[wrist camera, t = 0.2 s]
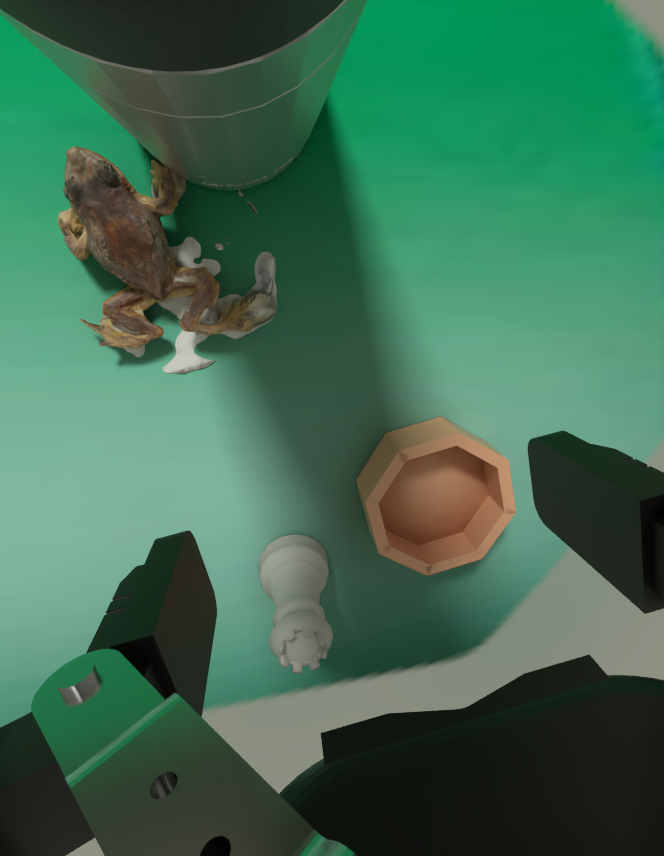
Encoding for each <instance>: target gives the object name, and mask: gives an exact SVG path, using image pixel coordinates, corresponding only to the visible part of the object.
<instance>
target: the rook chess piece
mask: <svg viewBox="0 0 664 856" xmlns="http://www.w3.org/2000/svg"><path fill="white" fill-rule="evenodd" d="M258 570H259V578H260V582H261V586H262V588H263V590H264V591H265V592H266V594H267V595H268V596H269V597H270V598H271V599H272V600H273V601H274V603H275V606H276V611H275V614H274V618H273V624H274V628H273V630H272V631H271V635H270V639H269V643H270V647H271V651H272V652H273V653H274V655H275V656H276V657H277V658H278V659H279V663H280V664H281V666H282V667H283V668H284V669H285V668H286V667H287V666H288V665H289V664H290V665H292V671H293V673H302V666H306V665H310V669H311V671H313V670H315V669H317V668H318V667H320V662H319V659H320V658H322V659H326V657H327V654H328V649H329V648H330V646H331V643H332V639H333V634H332V629H331V626H330V625H329V624H328V623H327V621H326V620H325V614H324V609H323V608H322V607H321V606H320V604H319V602H320V594H321V593H322V590H323V589H324V587H325V585H326V582H327V578H328V574H329V569H328V559H327V554H326V551H325V550H324V549H323V547H322V546H321V545H320V543H319V542H317V541H315V540H314V539H312V538H310V537H308V536H303V535H296V534H293V535H288V536H283V537H279V538H278V539H276V540H275V541H273V542H271V543H270V544H268V545H267V547H266V548H265V549H264V551H263V552H262V553H261V555H260V559H259V563H258Z"/></svg>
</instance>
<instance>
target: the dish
mask: <svg viewBox="0 0 664 856" xmlns="http://www.w3.org/2000/svg"><path fill="white" fill-rule="evenodd" d="M356 483H357V487H358V490H359V494H360V498H361V502H362V505H363V509H364V513H365V517H366V520H367V524H368V528H369V530H370V533H371V535H372V538H373V540H374V543H375V545H376V548H377V550H378V553H379V554H380V555H382V556H384V557H387V558H389V559H391V560H393V561H395V562H398V563H400V564H402V565H404V566H407V567H409V568H411V569H413V570H415V571H418V572H420V573H422V574H424V575H427V576H428V575H431V574H435V573H438V572H441V571H445V570H448V569H451V568H454V567H458V566H461V565H464V564H467V563H471V562H474V561H477V560H480V559H483V557H484V556H485V555H486V553H487V552H488V551H489V549H490V548H491V546H492V545H493V544H494V542H495V541H496V539H497V538H498V537H499V535H500V534H501V533H502V531H503V530H504V528H505V527H506V526H507V524H508V523H509V522H510V520H511V519H512V517H513V516H514V515H515V513H516V508H515V501H514V494H513V487H512V480H511V473H510V467H509V460H508V459H507V458H506V457H504V456H503V455H502V454H501V453H500V452H498V451H497V450H496V449H495V448H493V447H492V446H491V445H490V444H489V443H487V442H486V441H484V440H483V439H481V438H479V437H477V436H476V435H474V434H472V433H470V432H468V431H467V430H465V429H463V428H461V427H460V426H458V425H456V424H454V423H452V422H451V421H449V420H447V419H445V418H444V417H442V416H441V417H437V418H434V419H430V420H427V421H424V422H420V423H417V424H413V425H410V426H407V427H403V428H400V429H396V430H393V431H390V432H386V433H385V435H384V436H383V438H382V439H381V441H380V443H379V444H378V446H377V447H376V449H375V451H374V452H373V454H372V455H371V457H370V458H369V460H368V462H367V463H366V465H365V466H364V468H363V470H362V471H361V473H360V474H359V476H358V478H357V479H356Z"/></svg>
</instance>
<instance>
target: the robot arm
mask: <svg viewBox="0 0 664 856" xmlns="http://www.w3.org/2000/svg"><path fill="white" fill-rule="evenodd" d="M366 2H367V0H0V14H1V15H2V16H3V17H4V18H5V19H6V20H7V21H8V22H9V23H10V24H11V25H12V26H14V27H15V28H16V29H17V30H18V31H19V32H20V33H21V34H22V35H23V36H24V37H25V38H26V39H28V40H29V41H30V42H31V43H32V44H33V45H34V46H35V47H36V48H37V49H38V50H39V51H41V52H42V53H43V54H44V55H45V56H46V57H47V58H49V59H50V60H51V61H52V62H53V63H54V64H55V65H57V66H58V67H59V68H60V69H61V70H62V71H63V72H64V73H65V74H66V75H67V76H68V77H69V78H71V79H72V80H73V81H74V82H75V83H76V84H77V85H78V86H79V87H80V88H81V89H82V90H83V91H85V92H86V93H87V94H88V95H89V96H90V97H91V98H92V99H93V100H94V101H95V102H96V103H97V104H98V105H100V106H101V107H102V108H103V109H104V110H105V111H106V112H107V113H108V114H109V115H110V116H111V117H112V118H114V119H115V120H116V121H117V122H118V123H119V124H120V125H121V126H122V127H123V128H124V129H125V130H126V131H128V132H129V133H130V134H131V135H132V136H133V137H134V138H135V139H136V140H137V141H138V142H139V143H140V144H141V145H142V146H143V147H144V148H145V149H147V150H148V151H149V152H150V153H151V154H152V155H153V156H154V157H155V158H156V159H158V160H159V161H160V162H161V163H162V164H164V165H165V166H166V167H167V168H168V169H170V170H171V171H172V172H173V173H175V174H177V175H179V176H180V177H182V178H184V179H186V180H188V181H189V182H191V183H194V184H197V185H200V186H204V187H207V188H210V189H217V190H229V191H233V190H240V189H247V188H252V187H255V186H257V185H260V184H262V183H265V182H267V181H270V180H271V179H273V178H274V177H275V176H277V175H278V174H280V173H281V172H283V171H284V170H285V169H286V168H287V167H288V166H289V165H290V164H291V163H292V162H293V161H294V160H295V158H296V157H297V156H298V155H299V154H300V152H301V150H302V149H303V147H304V145H305V143H306V142H307V140H308V138H309V136H310V134H311V132H312V130H313V127H314V125H315V123H316V120H317V118H318V116H319V114H320V112H321V109H322V107H323V105H324V102H325V100H326V97H327V95H328V93H329V90H330V88H331V85H332V83H333V81H334V78H335V76H336V74H337V71H338V69H339V66H340V64H341V62H342V59H343V57H344V54H345V52H346V50H347V47H348V45H349V42H350V40H351V38H352V35H353V33H354V31H355V28H356V26H357V23H358V21H359V19H360V16H361V14H362V11H363V9H364V7H365V4H366ZM528 456H529V465H530V473H531V481H532V490H533V498H534V504H535V507H536V510H537V513H538V515H539V517H540V519H541V520H542V522H543V523H544V524H545V525H546V526H547V527H548V528H549V529H550V530H551V531H552V532H553V533H554V534H556V535H557V536H558V537H559V538H560V539H561V540H562V541H563V542H565V543H566V544H567V545H568V546H569V547H570V548H571V549H573V550H574V551H575V552H576V553H577V554H578V555H579V556H580V557H582V558H583V559H584V560H585V561H586V562H587V563H588V564H589V565H591V566H592V567H593V568H594V569H595V570H596V571H597V572H598V573H600V574H601V575H602V576H603V577H604V578H605V579H606V580H608V581H609V582H610V583H611V584H612V585H613V586H615V588H617V589H618V590H619V591H620V592H621V593H622V594H623V595H625V596H626V597H627V598H628V599H629V600H630V601H631V602H632V603H634V604H635V605H636V606H637V607H638V608H639V609H640V610H641V611H642V612H644V613H645V614H646V613H649V612H653V611H656V610H660V609H663V608H664V473H663V472H661V471H659V470H657V469H655V468H653V467H651V466H650V467H647V464H645V463H643V462H641V461H639V460H637V459H635V460H633V458H632V457H630V456H628V455H626V454H624V453H622V452H620V451H618V450H616V449H613V448H608V447H603V446H599V445H594V444H589V443H587V442H585V441H583V440H581V439H579V438H577V437H576V436H574V435H572V434H570V433H568V432H566V431H559V432H555V433H552V434H548V435H544V436H540V437H537V438H533V439H531V440H530V441H529V443H528ZM106 613H107V615H104V617H103V620H102V622H101V624H100V626H99V628H98V630H97V632H96V634H95V636H94V638H93V640H92V642H91V644H90V646H89V648H88V651H87V653H86V654H84V655H81V656H79V657H77V658H75V659H73V660H72V661H70V662H68V663H67V664H65V665H64V666H62V667H61V668H59V669H58V670H57V671H56V672H54V673H53V674H52V675H51V676H50V677H49V678H48V679H47V680H46V681H45V682H44V683H43V684H42V685H41V687H40V688H39V690H38V691H37V692H36V694H35V696H34V698H33V701H32V706H31V710H32V712H30V713H29V714H27V715H25V716H23V717H21V718H19V719H17V720H15V721H13V722H11V723H9V724H7V725H5V726H3V727H1V728H0V856H65V855H67V854H68V853H70V852H72V851H74V850H75V849H77V848H78V847H80V846H82V845H83V844H85V843H87V842H88V841H90V840H92V839H93V838H96V840H97V842H98V844H99V846H100V847H101V850H102V851H103V854H104V856H664V680H659V679H655V678H648V677H639V676H626V675H606V673H605V672H604V671H603V670H602V669H601V668H600V667H599V665H598V664H597V663H596V662H595V661H594V659H593V658H592V657H591V656H590V655H586V656H583V657H580V658H576V659H573V660H570V661H566V662H563V663H559V664H556V665H552V666H549V667H546V668H542V669H539V670H535V671H532V672H529V673H525V674H523V675H522V676H520V677H518V678H516V679H515V680H513V681H511V682H509V683H508V684H506V685H504V686H503V687H501V688H499V689H498V690H496V691H494V692H492V693H491V694H489V695H487V696H486V697H484V698H482V699H480V700H479V701H477V702H475V703H474V704H472V705H470V706H468V707H466V708H463V709H456V710H439V711H424V712H407V713H390V714H385V715H382V716H378V717H375V718H371V719H368V720H365V721H361V722H358V723H354V724H351V725H347V726H345V727H341V728H337V729H334V730H330V731H327V732H323V733H321V739H322V748H323V756H324V759H322V760H320V761H319V762H317V763H315V764H314V765H312V766H311V767H310V768H308V769H307V770H306V771H304V772H303V773H301V774H300V775H299V776H297V777H296V778H295V779H294V780H293V781H292V782H291V783H290V784H289V785H287V786H286V787H285V788H284V789H283V790H282V791H281V792H280V794H278V793H277V792H276V791H275V790H274V789H273V788H272V787H271V786H270V785H269V784H268V783H267V782H266V781H265V780H264V779H263V778H262V777H261V776H260V775H259V774H258V773H257V772H256V771H255V770H254V769H253V768H252V767H251V766H250V765H249V764H248V763H247V762H246V761H245V760H244V759H243V758H242V757H241V756H240V755H239V754H238V753H237V752H236V751H235V750H234V749H233V748H232V747H231V746H230V745H229V744H228V743H227V742H226V741H225V740H224V739H223V738H222V737H221V736H220V735H219V734H218V733H217V732H216V731H215V730H214V729H213V728H212V727H211V726H210V725H209V724H208V723H207V722H206V721H205V720H204V719H203V718H202V711H203V704H204V697H205V691H206V684H207V677H208V671H209V664H210V657H211V651H212V644H213V637H214V631H215V624H216V617H217V606H216V599H215V594H214V590H213V587H212V584H211V582H210V579H209V576H208V573H207V571H206V568H205V565H204V562H203V559H202V557H201V554H200V551H199V548H198V546H197V543H196V540H195V538H194V536H193V534H192V533H191V532H190V531H189V530H188V531H184V532H181V533H177V534H173V535H170V536H166V537H162V538H158V539H156V540H155V541H154V543H153V546H152V548H151V550H150V553H149V555H148V557H147V560H146V562H145V564H144V565H140V566H137V567H135V568H134V569H133V570H132V571H131V572H130V573H129V574H128V575H127V576H126V577H125V578H124V579H123V581H122V582H121V583H120V584H119V586H118V589H117V591H116V593H115V595H114V597H113V601H112V602H111V603H110V605H109V607H108V609H107V611H106Z"/></svg>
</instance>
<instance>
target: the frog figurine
mask: <svg viewBox="0 0 664 856" xmlns="http://www.w3.org/2000/svg"><path fill="white" fill-rule="evenodd" d="M66 156H67V160H66V166H65V187H64V189H63V191H64V192H65V197H66V198H67V199H68V200H69V203H70V205H71V207H72V208H70V209H68V210H66V211H61V212H60V213H59V215H58V225H59V228H60V230H61V232H62V233H63V235H64V236H65V243H66V244H67V246H68V248H69V249H70V250H71V252H72V253H73V255H74V256H75V257H76V258H77V259H80V260H85V259H87V257H88V256H89V255H90V254H92V255H93V256H94V258H95V259H96V260H97V261H98V262H99V263H100V265H101V266H102V267H103V268H104V269H105V270H106V271H108V272H110V273H111V274H113V275H115V276H117V277H118V278H119V279H121V280H122V281H123V282H124V283H126V284H128V285H129V286H127V287H126V288H124V289H123V290H121V291H120V292H118V293H116V294H114V295H113V296H111V297H110V298H108V299H106V300H105V301H104V302H103V304H102V307H103V311H102V312H103V314H104V316H103V317H102V319H101V320H100V325H96V324H91V323H88V322H86V321H85V320H82V319H80V321H82V322H83V323H85V324H86V325H87V326H88V327H90V328H91V329H93V330H94V331H96V332H97V333H98V334H100V335H102V336H103V337H104V338H105V341H103V342H99V345H100V346H104V345H107V346H113V347H120V348H124V349H125V350H126V351H127V352H129V353H132V354H134V355H135V356H136V357H141V356H142V355H143V354H144V352H145V345H144V344H148V343H149V342H150V341H152V340H154V339H157V338H159V337H160V336H161V337H162V336H163V329H162V328H161V327H159V326H157V325H154V324H153V323H151V322H149V321H148V320H147V319H146V317H145V316H144V314H143V311H144V310H146V309H148V308H149V307H150V306H151V305H153V304H154V303H156V302H157V303H158V304H159V305H160V306H161V307H162V308H164V309H167V310H169V311H171V312H172V313H173V314H174V315H176V316H177V317H178V318H179V319H180V321H179V325H180V327H181V328H182V332H181V333H180V335H179V336H178V337H177V340H176V344H175V348H176V351H177V354H176V356H175V357H174V358H173V360H172V361H171V362H170V363H168V364H167V365H166V366H165V367H164V368H163V371H164V372H165V373H177V374H178V373H189V372H190V371H195V370H198V369H202V368H204V367H207V366H209V365H211V364H212V363H213V362H215V361H214V360H208V359H202V358H200V357H199V356H197V355H196V354H194V348H195V346H196V345H197V344H198V343H200V342H201V341H203V340H205V339H206V338H207V337H208V335H212V334H224V335H226V336H228V337H231V338H233V339H235V340H236V339H238V338H241V337H243V336H245V335H247V334H249V333H252V332H253V331H255V330H256V329H257V328H259V327H261V326H263V325H265V324H267V323H268V322H270V321H271V320H272V319H273V317H274V316H275V314H276V311H277V301H276V292H277V290H276V284H275V269H276V265H275V256H274V255H272V254H271V253H269V252H262V253H261V254H260V255H259V256H258V257H257V259H256V262H255V267H254V272H255V278H256V283H255V285H254V286H253V287H252V288H251V290H250V291H248V292H247V293H246V294H245V296H244V297H241V296H239V295H237V294H231V295H227V296H225V297H223V298H221V299H218V295H219V293H220V283H219V282H218V281H217V280H216V279H215V278H214V276H215V275H216V274H218V273H219V272H220V270H221V269H220V264H219V263H218V261H216V260H212V259H202V261H201V263H200V264H195V263H194V262H193V260H194V258H200V255H201V247H200V244H199V243H198V242H197V241H196V240H195V239H194V238H193V237H187V238H186V239H185V240H184V242H183V243H182V244H181V245H179V246H176V247H170V246H168V241H167V239H166V235H165V231H164V229H163V226H162V223H161V221H160V217H161V216H166V215H171V214H172V213H173V212H174V209H175V208H176V207H177V206H178V201H179V199H180V198H181V197H182V195H183V194H184V192H185V190H186V181H185V179H184V178H182V177H180V176H179V175H177V174H175V173H173V172H172V171H171V170H170V169H168V168H167V167H166V166H165V165H164V164H162V163H159V162H158V161H156V160H151V168H152V170H151V171H150V173H151V175H152V177H153V180H152V182H151V183H152V188H151V190H152V197H153V198H150V197H148V196H146V195H141V194H139V193H138V192H137V191H136V190H135V189H134V187H133V186H132V185H131V184H130V183H129V181H128V180H127V179H126V177H125V176H124V175H123V173H122V172H121V170H120V169H119V168H118V167H117V166H115V165H114V164H113V163H111V162H110V161H109V160H107V159H106V158H104V157H102V156H101V155H99V154H97V153H95V152H93V151H90V150H88V149H85V148H80V147H72V148H70V149H68V150H67V153H66ZM237 191H238V192H239V195H240V196H244V195H243V194H242V193H241V192H240V190H237ZM247 203H248V204H249V206H250V207H251V208H252V210H253V211H254V212H255V213H256V214H257V211H256V209H255V208H254V206H253V205H252V203H250V202H249V201H247ZM257 215H258V214H257ZM227 239H229V238H228V237H227ZM226 244H230V243H226ZM215 247H216V248H217V249H218V250H223V248H224V245H222V244H219V243H216V245H215Z"/></svg>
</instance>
